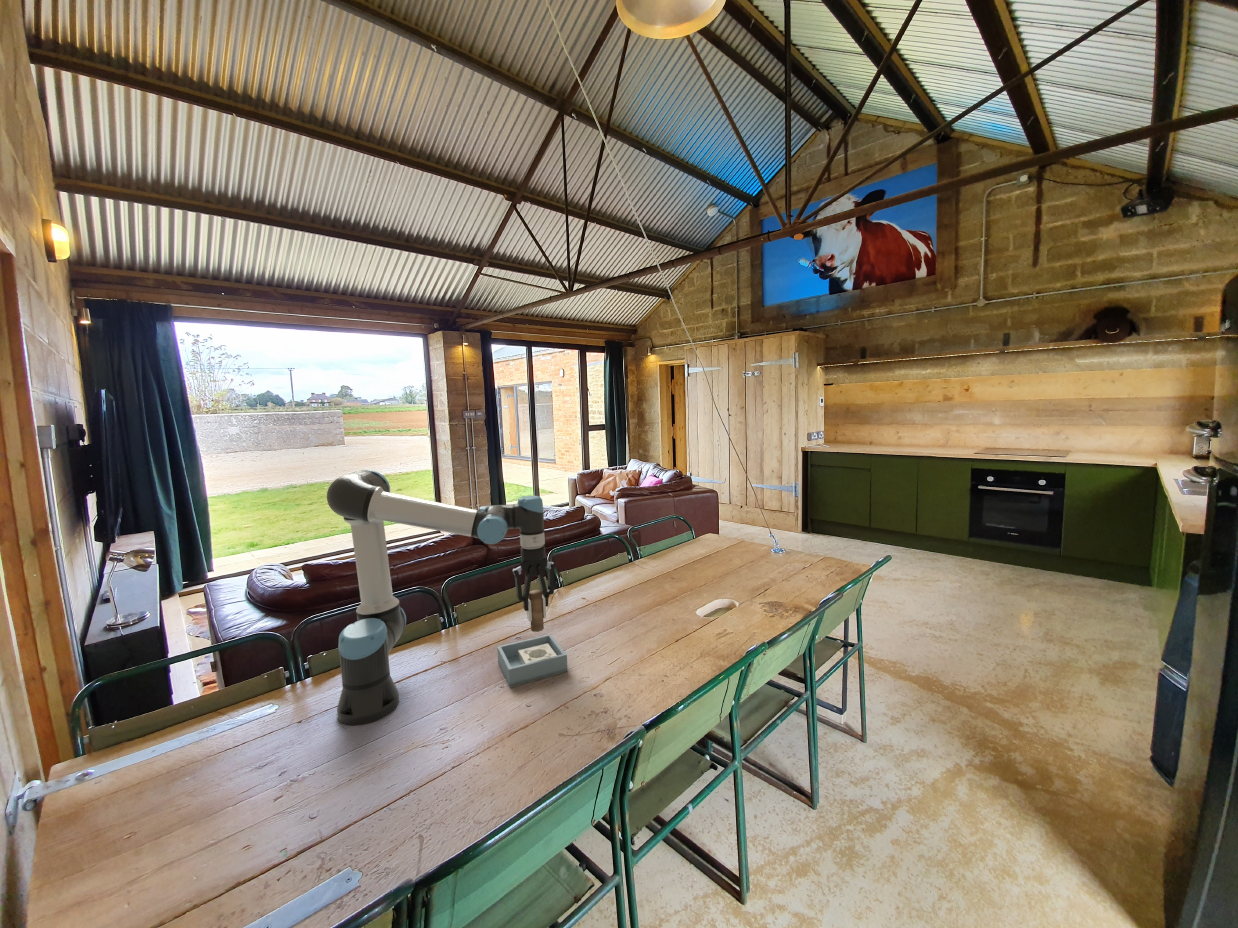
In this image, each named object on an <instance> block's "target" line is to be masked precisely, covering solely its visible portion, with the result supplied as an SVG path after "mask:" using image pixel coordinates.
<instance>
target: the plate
mask: <svg viewBox="0 0 1238 928" xmlns="http://www.w3.org/2000/svg"><path fill="white" fill-rule="evenodd" d="M553 656H557V655H556V654H555V652H554V651H553V649H552V648H551V647H550V645H549V644H548V643H547V644H543V645H539V646H534V647H530V648H526V649H522V650H518V657H519V661H520V663H521V664H526V663H530V662H534V661H538V660H542V659H546V658H550V657H553Z"/></svg>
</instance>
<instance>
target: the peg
mask: <svg viewBox="0 0 1238 928" xmlns="http://www.w3.org/2000/svg"><path fill="white" fill-rule="evenodd" d="M542 595H543V593H542V590H541V589H534V590H530V592H529V600H530V601H531V612H532V621H531V622H530V631H531V632H534V633H538V632H542V631H543V630H544V629H545V626H544V618H543V604H542Z"/></svg>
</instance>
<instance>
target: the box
mask: <svg viewBox="0 0 1238 928" xmlns="http://www.w3.org/2000/svg"><path fill="white" fill-rule="evenodd" d="M547 643H548V644H549V645H550V647H551V648H552V649H553V651H554V652H555V654H556V655H557V656H553V657H550V658H546V659H542V660H538V661H534V662H530V663H526V664H521V663H520V661H519V657H518V650H522V649H526V648H530V647H534V646H539V645H543V644H547ZM496 648H497V664H498V666H499V667H500V670H501V673H502V674H503V677H504V679H505V680H506V683H507V684H508V687H509V688H512V687H516V686H520V685H523V684H527V683H531V682H535V681H539V680H542V679H545V678H549V677H552V676H556V675H560V674H561V675H562V674H563V673H567V672H568V654H567V653H566V652H565V650H564V649H563V648H562V646H561V645H560V644H559V643H558V641H557V640H556V639H555V638H554V636H553V635H552V634H551V633H549V634H545V635H541V636H537V637H532V638H528V639H523V640H519V641H515V642H511V643H510V642H509V643H507V644H501V645H497V647H496Z"/></svg>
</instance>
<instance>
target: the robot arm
mask: <svg viewBox="0 0 1238 928" xmlns="http://www.w3.org/2000/svg"><path fill="white" fill-rule="evenodd" d="M326 501H327V504H328V507H329V508H330V509H331V510H332V511H333V512H334V513H335V514H337V515H338V516H340V517H343V520H344V522H346V523H348V524H349V525H350V531H351V536H352V544H353V552H354V558H355V566H356V567H355V568H356V575H357V580H358V589H359V597H360V604H359V605H358V606H357V608H356V610H355V612H356V619H357V621H355V622H353V623H350V624H348V625H347V626H345V627H344V628H343V629H342V631H341V632H340V633H339V636H338V646H337V649H338V651H337V652H338V653H339V664H340V672H341V673H340V674H341V675H340V676H341V683H342V684H341V685H342V687H341V688H342V689H341V693H340V695H339V700H338V702H337V703H338V704H337V707H336V710H337V711H336V712H337V714H336V715H337V720H338V721H339V722H340V723H342V724H344V725H349V726H357V725H358V726H359V725H360V726H361V725H364V724H369V723H372V722H375V721H377V720H380V719H382V718H384V717H386V716H387V715H389V714H391V712H392V711H394V710H395V709H396V708H397V706H398V705H399V702H400V696H399V690H398V689H397V685H396V684H395V682H394V680H393V678H392V676H391V671H390V670H391V669H390V659H389V656H390V652H391V651H392V650H393V648H394V647H395V645H396V643H398V640H399V639H400V638H402V637H401V636H402V635H403V633H404V632H405V628H406V624H407V615H406V613H405V611H404V609H403V608H402V607H401V605H400V600H399V599H398V598H397V597H395V596H394V593H393V587H392V578H391V572H390V571H391V570H390V562H389V561H390V560H389V554H388V546H387V540H386V539H387V537H386V532H385V530H386V529H385V522H389V523H394V524H395V523H396V524H400V525H401V524H402V525H407V526H411V527H416V528H421V529H422V528H423V529H427V530H433V531H438V532H443V533H450V534H455V535H460V536H466V537H471V538H475V539H479V540H480V541H481V542H483V543H484V544H487V545H495V544H498V543H500V542H501V541H503V539H504V538H505V536H506V534H507V533H508V530H512V529H513V530H514V529H515V530H516V529H519V543H520V544H519V545H520V546H521V547H520V558H521V559H520V564H519V566H518V567H516V568H515V567H514V568H512V569H511V572H512V574H513V575H514V582H515V584H514V585H515V592H516V598H517V600H518V601H519V602H521V601H523V603H522V607H523V610H524V611H525V612H526V616H527V617H526V618H527V620H528V622H530V623H531V621H532V612H531V601H530V600H529V592H530V591H531V583H532V579H533V577H535V576H537V578H538V581H539V586H540V590H541V591H542V604H543V619H547V610H546V609H547V607H549V597H550V596H551V595H554V593H555V592H554V591H555V577H554V576H555V575H554V574H555V572H554V571H555V568H556V563H554V561H548V560H547V558H546V555H547V553H546V546H545V544H546V540H545V539H546V538H545V517H544V516H545V514H544V505H543V502H544V501H543V499H542V497H541V496H538V495H527V496H520V497H519V498H518V499H517V503H512V504H495V505H492V504H489V505H482V506H479V508H478V509H473V508H468V507H465V506H460V505H459V506H458V505H453V504H448V503H444V502H439V501H433V500H428V499H425V498H424V499H423V498H418V497H413V496H409V495H403V494H399V493H392V492H391V485H390V482H389V481H388V479H387V478H386V477H385V476H384V475H383V474H382V473H381V472H378V471H376V470H373V469H364V470H363V469H362V470H356V471H354V472H352V473H349V474H344V475H342V476H340V477H338V478H336V479H334V480H333V481H332V482H331V484H330V485H329V487H328V489H327V491H326ZM546 568H547V584H546V580H545V575H544V570H545V569H546ZM522 571H523V572H524V573H525V574H524V575H525V576H524V577H525V578H524V584H523V590H522V580H521V579H522V578H521V575H522Z"/></svg>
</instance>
